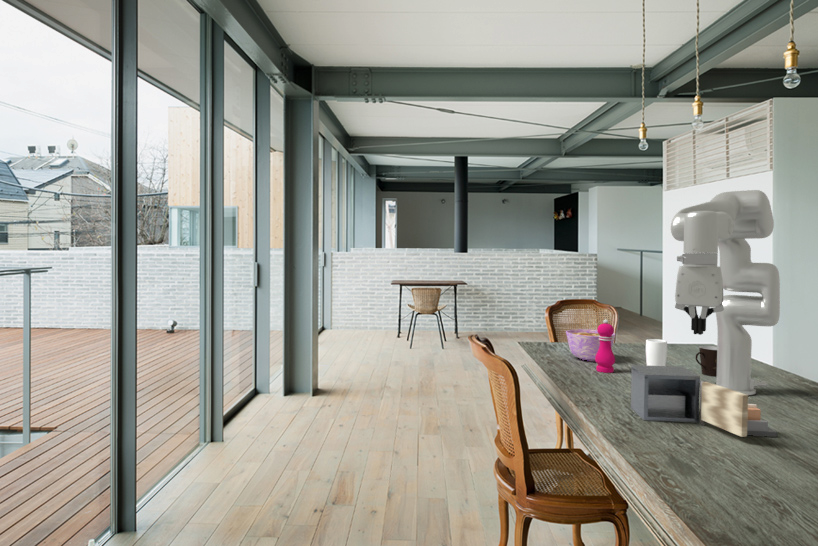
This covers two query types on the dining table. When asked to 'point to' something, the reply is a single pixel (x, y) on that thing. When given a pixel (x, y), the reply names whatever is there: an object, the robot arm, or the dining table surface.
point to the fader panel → (759, 428)
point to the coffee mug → (708, 360)
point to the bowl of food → (585, 343)
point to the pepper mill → (605, 348)
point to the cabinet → (665, 393)
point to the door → (723, 408)
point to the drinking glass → (656, 352)
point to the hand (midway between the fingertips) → (698, 333)
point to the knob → (753, 412)
